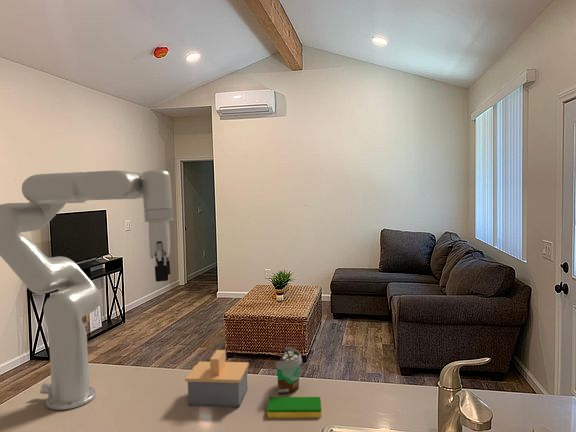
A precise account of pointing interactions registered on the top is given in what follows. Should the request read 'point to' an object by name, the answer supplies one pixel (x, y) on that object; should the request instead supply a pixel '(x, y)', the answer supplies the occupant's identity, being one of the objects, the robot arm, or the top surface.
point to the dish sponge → (294, 407)
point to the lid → (218, 370)
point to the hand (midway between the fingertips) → (163, 277)
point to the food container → (288, 371)
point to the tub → (217, 393)
